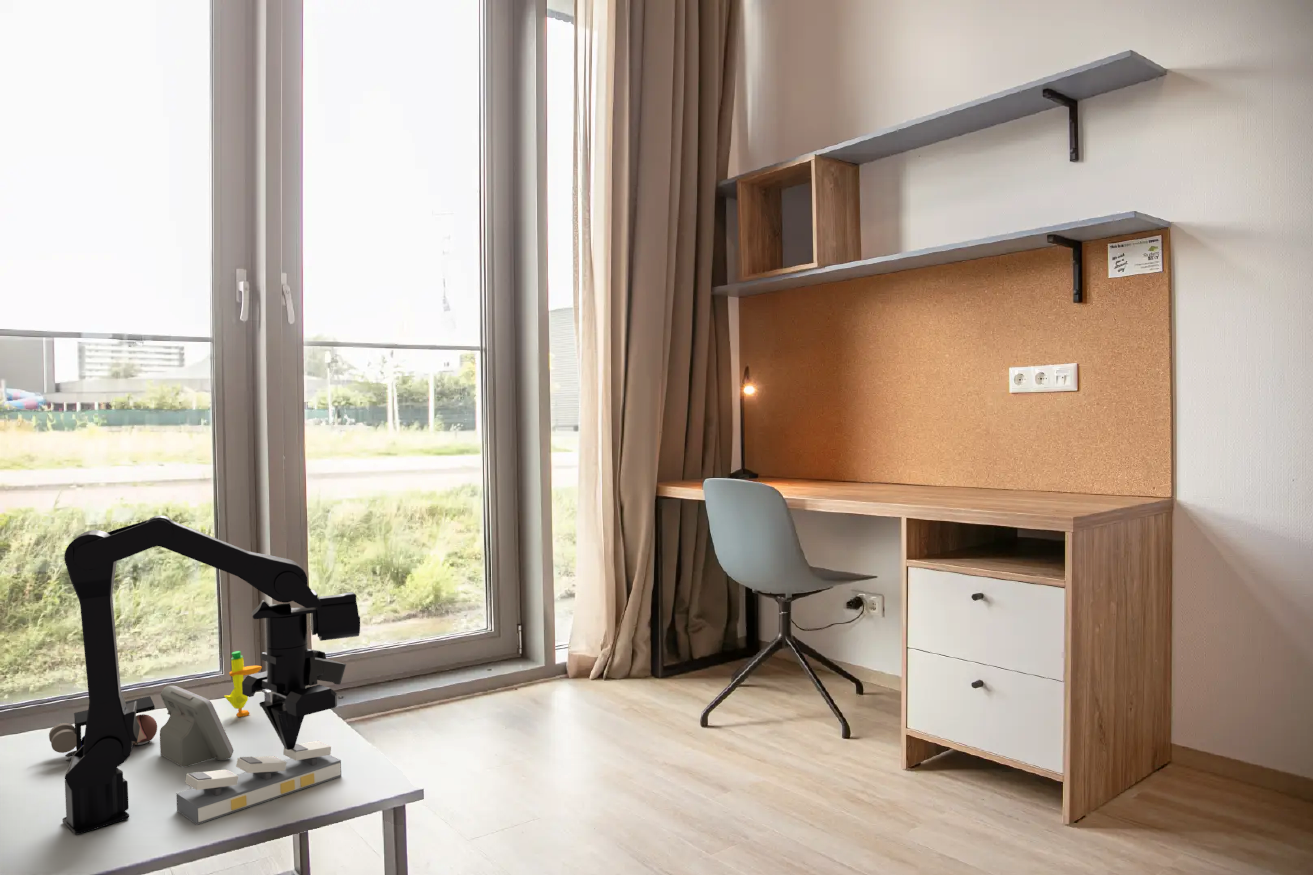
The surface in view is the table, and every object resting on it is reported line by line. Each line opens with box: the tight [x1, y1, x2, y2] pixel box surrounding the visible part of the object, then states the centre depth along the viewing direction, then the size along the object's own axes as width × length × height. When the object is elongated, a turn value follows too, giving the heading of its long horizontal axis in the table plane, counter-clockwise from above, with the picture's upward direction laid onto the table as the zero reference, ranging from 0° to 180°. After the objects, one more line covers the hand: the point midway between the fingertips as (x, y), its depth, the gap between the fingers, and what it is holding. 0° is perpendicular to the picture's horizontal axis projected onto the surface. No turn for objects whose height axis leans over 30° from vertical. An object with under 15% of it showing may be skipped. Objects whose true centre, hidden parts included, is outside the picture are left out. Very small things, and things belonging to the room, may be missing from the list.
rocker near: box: [185, 769, 238, 790], centre depth 127 cm, size 6×4×1 cm
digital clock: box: [159, 685, 235, 768], centre depth 149 cm, size 16×9×11 cm, turn 38°
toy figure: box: [223, 650, 263, 718], centre depth 169 cm, size 7×4×12 cm, turn 127°
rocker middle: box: [235, 755, 287, 773], centre depth 132 cm, size 6×4×1 cm
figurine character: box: [48, 695, 158, 762], centre depth 152 cm, size 7×8×15 cm
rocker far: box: [283, 740, 332, 761], centre depth 137 cm, size 6×4×1 cm
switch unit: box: [175, 754, 342, 825], centre depth 132 cm, size 21×7×3 cm, turn 138°
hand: (289, 748), depth 135 cm, fingers closed, pressing on rocker far
